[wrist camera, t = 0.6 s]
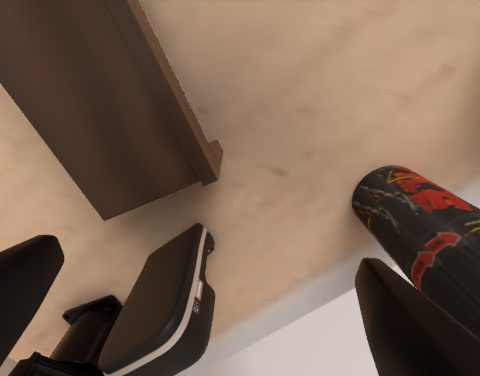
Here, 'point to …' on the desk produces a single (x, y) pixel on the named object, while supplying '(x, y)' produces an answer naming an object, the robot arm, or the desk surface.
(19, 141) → the desk surface
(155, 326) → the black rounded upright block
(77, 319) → the robot arm
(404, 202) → the deodorant
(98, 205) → the shelf
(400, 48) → the desk surface
